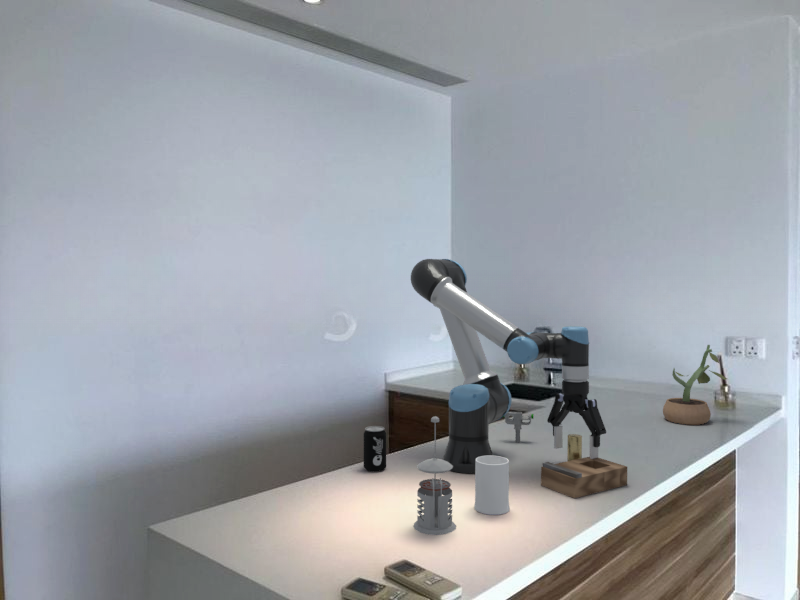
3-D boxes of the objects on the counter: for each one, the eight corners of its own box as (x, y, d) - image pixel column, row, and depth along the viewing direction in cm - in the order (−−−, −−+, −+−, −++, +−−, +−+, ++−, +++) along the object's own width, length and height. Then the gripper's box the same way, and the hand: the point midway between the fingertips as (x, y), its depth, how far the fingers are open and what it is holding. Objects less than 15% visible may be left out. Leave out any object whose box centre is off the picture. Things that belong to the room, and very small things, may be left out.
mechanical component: (533, 444, 218) (533, 414, 217) (502, 442, 220) (502, 412, 219) (533, 441, 221) (533, 412, 220) (502, 440, 223) (502, 411, 222)
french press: (453, 517, 152) (454, 411, 151) (460, 537, 141) (460, 423, 140) (411, 518, 152) (412, 411, 151) (414, 538, 140) (415, 423, 139)
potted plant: (659, 423, 247) (661, 345, 246) (665, 414, 263) (666, 340, 262) (726, 430, 237) (728, 348, 236) (727, 420, 253) (729, 343, 252)
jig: (574, 498, 165) (574, 475, 165) (541, 485, 176) (541, 463, 175) (627, 484, 176) (627, 462, 176) (592, 473, 186) (592, 452, 186)
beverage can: (366, 473, 186) (366, 431, 185) (361, 466, 192) (361, 426, 192) (388, 471, 188) (388, 430, 187) (383, 465, 194) (383, 425, 193)
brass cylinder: (574, 472, 187) (575, 438, 186) (564, 469, 190) (564, 435, 190) (584, 470, 189) (584, 436, 188) (574, 467, 192) (574, 433, 192)
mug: (492, 496, 167) (493, 450, 166) (522, 504, 161) (523, 456, 161) (467, 509, 158) (467, 460, 157) (497, 518, 152) (498, 467, 152)
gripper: (619, 384, 180) (619, 460, 180) (553, 374, 201) (553, 442, 202) (600, 386, 176) (600, 464, 176) (535, 376, 197) (535, 445, 198)
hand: (575, 453), depth 189 cm, fingers open, 13 cm apart
